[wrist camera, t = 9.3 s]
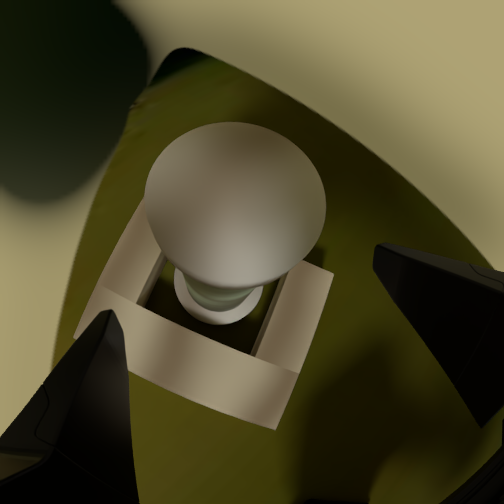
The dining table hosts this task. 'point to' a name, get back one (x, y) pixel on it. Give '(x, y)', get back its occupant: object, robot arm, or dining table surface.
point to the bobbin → (232, 215)
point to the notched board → (202, 348)
